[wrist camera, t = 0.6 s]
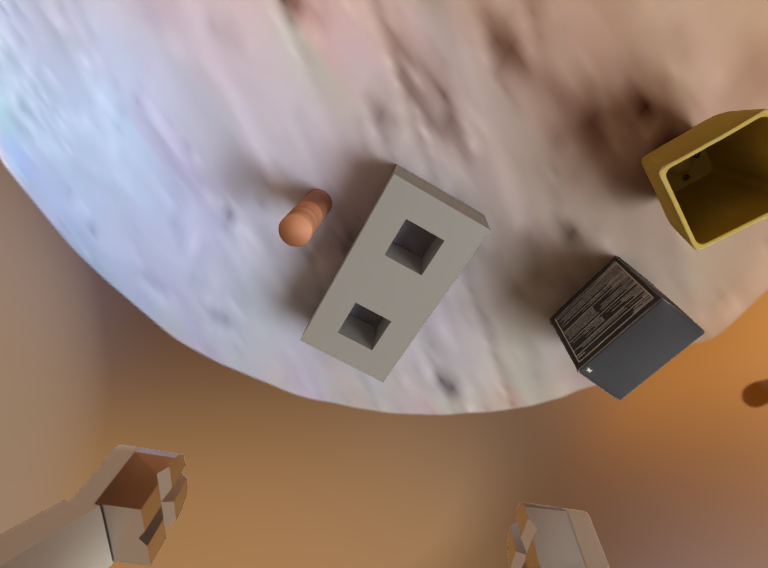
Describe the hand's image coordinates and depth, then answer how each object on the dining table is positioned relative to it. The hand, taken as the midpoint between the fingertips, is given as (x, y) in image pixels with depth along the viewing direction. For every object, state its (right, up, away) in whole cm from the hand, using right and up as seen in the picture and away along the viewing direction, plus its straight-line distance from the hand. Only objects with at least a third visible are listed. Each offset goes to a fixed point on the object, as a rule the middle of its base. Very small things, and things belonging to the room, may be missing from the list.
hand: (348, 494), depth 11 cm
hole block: (+2, +7, +42) cm, 42 cm away
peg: (-6, +14, +39) cm, 42 cm away
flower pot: (+30, +17, +34) cm, 49 cm away
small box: (+26, +3, +42) cm, 49 cm away
